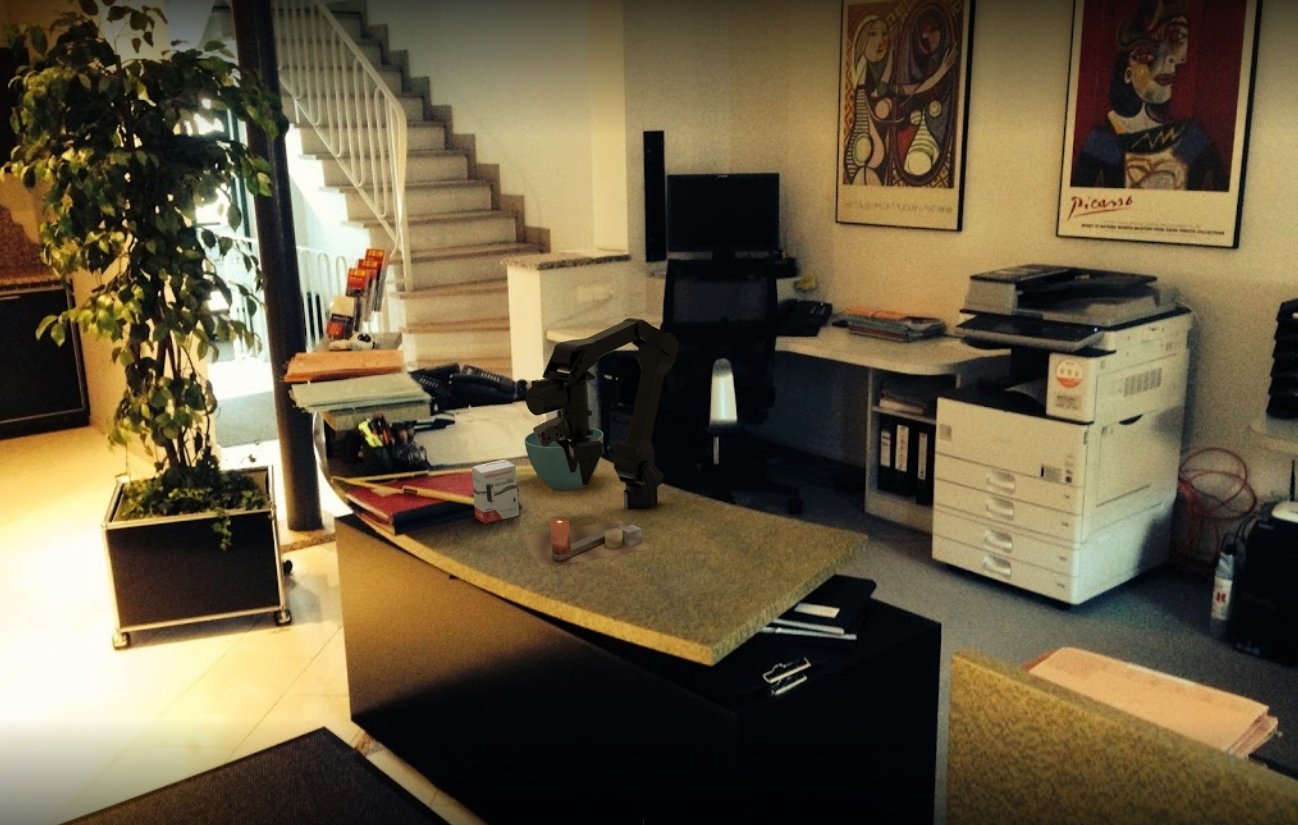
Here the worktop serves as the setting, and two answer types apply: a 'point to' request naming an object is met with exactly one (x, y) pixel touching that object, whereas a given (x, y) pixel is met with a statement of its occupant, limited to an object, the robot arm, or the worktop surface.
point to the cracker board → (543, 546)
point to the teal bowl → (555, 463)
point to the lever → (562, 539)
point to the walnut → (613, 538)
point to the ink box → (495, 491)
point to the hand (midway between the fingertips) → (578, 478)
